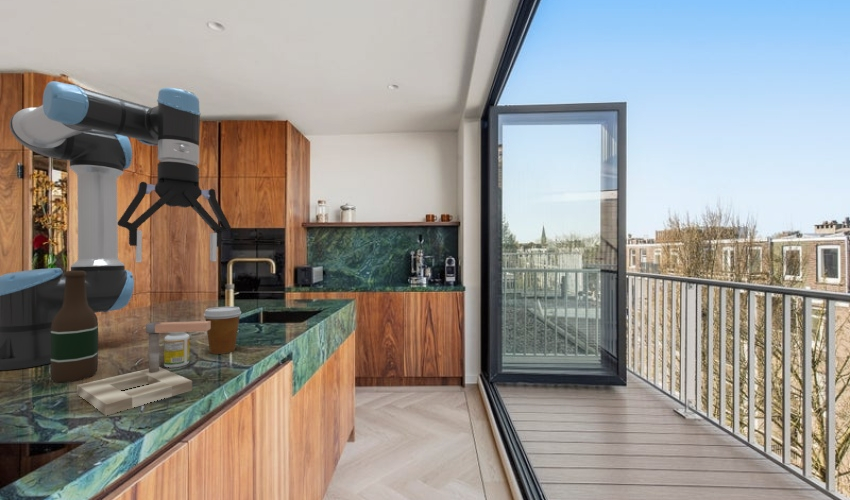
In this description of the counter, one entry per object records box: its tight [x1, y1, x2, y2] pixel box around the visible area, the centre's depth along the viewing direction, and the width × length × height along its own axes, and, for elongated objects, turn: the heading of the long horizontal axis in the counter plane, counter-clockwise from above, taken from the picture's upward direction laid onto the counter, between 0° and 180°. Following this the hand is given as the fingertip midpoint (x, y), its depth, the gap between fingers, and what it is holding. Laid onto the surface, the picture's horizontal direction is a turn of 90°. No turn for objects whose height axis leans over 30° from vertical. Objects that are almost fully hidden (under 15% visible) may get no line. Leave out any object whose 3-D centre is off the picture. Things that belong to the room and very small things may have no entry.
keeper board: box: [76, 333, 193, 417], centre depth 75 cm, size 16×14×10 cm
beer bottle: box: [50, 270, 99, 383], centre depth 83 cm, size 8×8×24 cm
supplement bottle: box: [163, 332, 191, 369], centre depth 93 cm, size 5×5×10 cm
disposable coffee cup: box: [203, 306, 242, 355], centre depth 105 cm, size 10×10×12 cm
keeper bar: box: [145, 320, 211, 334], centre depth 83 cm, size 12×3×2 cm, turn 102°
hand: (178, 261), depth 80 cm, fingers open, 13 cm apart
